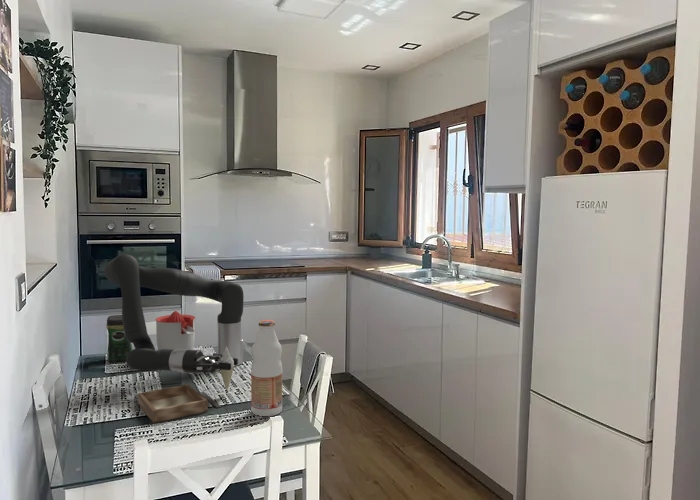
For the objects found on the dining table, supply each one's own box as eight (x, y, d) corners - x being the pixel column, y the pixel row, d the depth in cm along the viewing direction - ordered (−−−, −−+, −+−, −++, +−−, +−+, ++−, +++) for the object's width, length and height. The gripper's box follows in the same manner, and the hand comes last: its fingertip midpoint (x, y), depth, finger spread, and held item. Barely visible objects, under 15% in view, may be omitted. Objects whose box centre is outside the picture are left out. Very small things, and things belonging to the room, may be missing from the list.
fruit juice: (256, 419, 153) (255, 325, 151) (247, 408, 161) (247, 319, 159) (286, 414, 157) (286, 323, 155) (276, 404, 165) (276, 317, 164)
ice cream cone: (220, 387, 175) (220, 344, 174) (235, 387, 175) (235, 343, 174) (217, 393, 170) (217, 348, 169) (233, 392, 170) (233, 347, 169)
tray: (202, 391, 176) (202, 381, 176) (222, 408, 161) (222, 397, 161) (138, 404, 164) (138, 393, 164) (153, 423, 149) (153, 411, 149)
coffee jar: (133, 356, 218) (133, 312, 217) (131, 361, 211) (131, 316, 210) (108, 358, 215) (107, 313, 214) (105, 363, 208) (104, 317, 207)
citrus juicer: (175, 366, 204) (174, 316, 203) (148, 359, 214) (147, 311, 213) (206, 357, 218) (206, 310, 216) (179, 351, 227) (178, 306, 226)
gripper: (175, 355, 167) (225, 359, 164) (196, 344, 181) (242, 347, 178) (175, 378, 168) (225, 382, 165) (196, 365, 182) (242, 368, 179)
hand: (234, 364), depth 172 cm, fingers closed on ice cream cone, 5 cm apart
